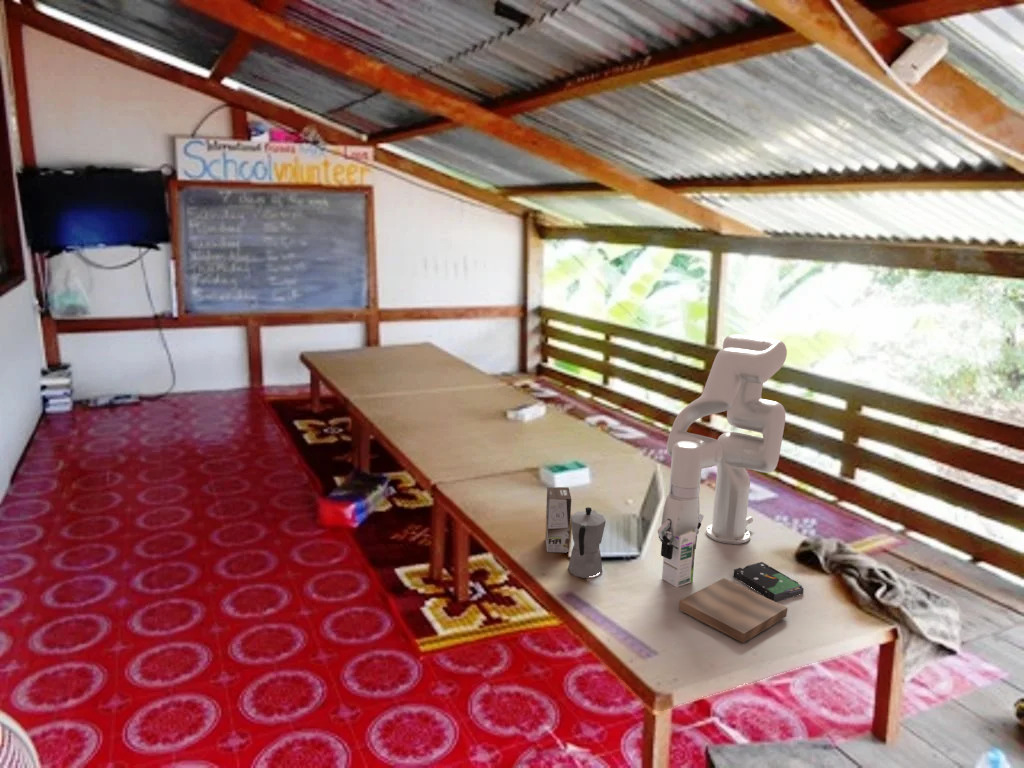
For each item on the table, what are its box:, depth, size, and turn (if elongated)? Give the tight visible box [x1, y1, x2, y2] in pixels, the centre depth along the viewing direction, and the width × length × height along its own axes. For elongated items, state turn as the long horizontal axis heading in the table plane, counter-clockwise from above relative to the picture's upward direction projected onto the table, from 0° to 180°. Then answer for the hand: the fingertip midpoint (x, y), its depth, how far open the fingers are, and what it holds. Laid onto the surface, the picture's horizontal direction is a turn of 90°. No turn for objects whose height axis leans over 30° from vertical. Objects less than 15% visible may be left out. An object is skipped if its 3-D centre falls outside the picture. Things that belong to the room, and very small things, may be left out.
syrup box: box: [661, 530, 697, 588], centre depth 200 cm, size 6×6×14 cm
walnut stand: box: [678, 577, 789, 644], centre depth 186 cm, size 18×18×3 cm
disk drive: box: [733, 561, 804, 603], centre depth 201 cm, size 10×3×15 cm
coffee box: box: [545, 486, 573, 554], centre depth 218 cm, size 9×6×16 cm
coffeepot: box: [567, 506, 606, 579], centre depth 203 cm, size 15×9×18 cm, turn 163°
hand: (678, 552), depth 200 cm, fingers open, 9 cm apart
